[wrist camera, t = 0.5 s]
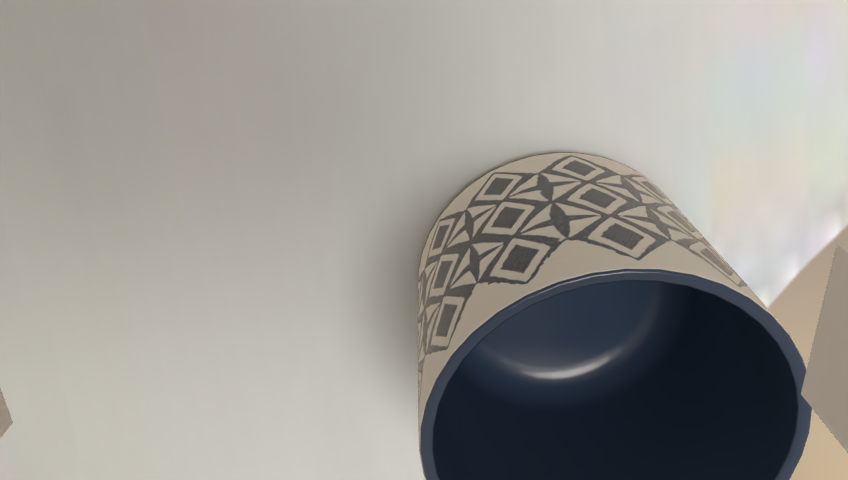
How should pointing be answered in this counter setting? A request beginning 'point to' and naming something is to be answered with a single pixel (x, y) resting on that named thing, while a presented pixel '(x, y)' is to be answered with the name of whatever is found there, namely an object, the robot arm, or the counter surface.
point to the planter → (595, 338)
